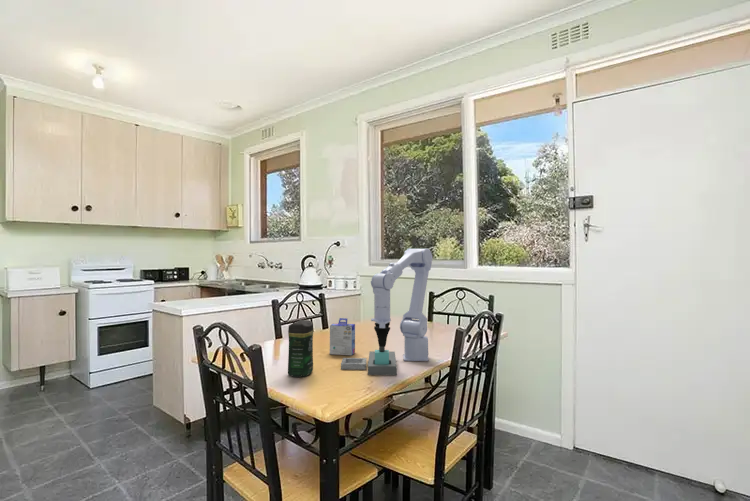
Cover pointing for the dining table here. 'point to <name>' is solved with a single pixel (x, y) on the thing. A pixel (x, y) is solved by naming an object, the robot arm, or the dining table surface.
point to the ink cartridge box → (342, 338)
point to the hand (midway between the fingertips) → (382, 344)
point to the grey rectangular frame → (353, 364)
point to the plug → (381, 356)
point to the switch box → (382, 365)
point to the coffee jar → (300, 348)
